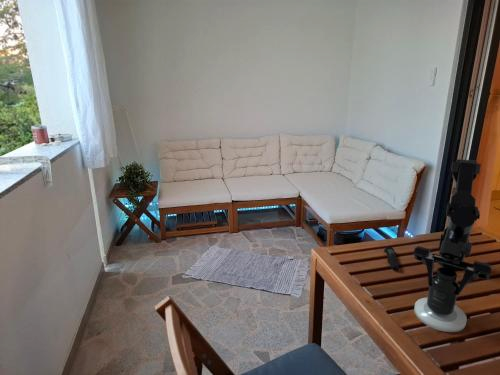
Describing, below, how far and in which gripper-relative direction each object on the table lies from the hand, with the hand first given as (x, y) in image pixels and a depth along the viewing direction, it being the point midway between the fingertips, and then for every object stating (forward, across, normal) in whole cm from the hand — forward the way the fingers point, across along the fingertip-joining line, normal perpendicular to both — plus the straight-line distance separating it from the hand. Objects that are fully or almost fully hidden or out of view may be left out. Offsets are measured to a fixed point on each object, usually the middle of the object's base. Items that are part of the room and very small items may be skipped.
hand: (443, 290), depth 90 cm
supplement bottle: (+4, 0, +6) cm, 7 cm away
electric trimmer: (-10, -20, +25) cm, 34 cm away
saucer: (+6, 0, +7) cm, 9 cm away
